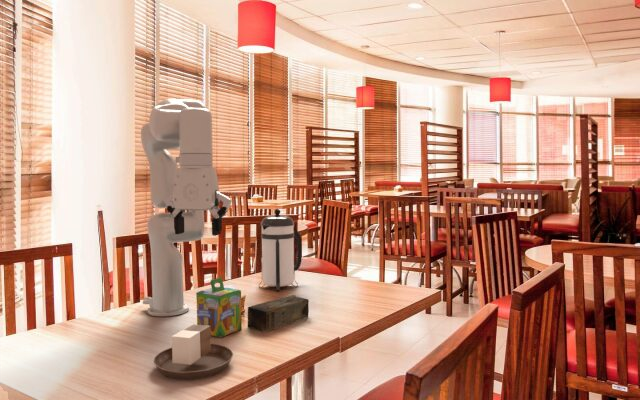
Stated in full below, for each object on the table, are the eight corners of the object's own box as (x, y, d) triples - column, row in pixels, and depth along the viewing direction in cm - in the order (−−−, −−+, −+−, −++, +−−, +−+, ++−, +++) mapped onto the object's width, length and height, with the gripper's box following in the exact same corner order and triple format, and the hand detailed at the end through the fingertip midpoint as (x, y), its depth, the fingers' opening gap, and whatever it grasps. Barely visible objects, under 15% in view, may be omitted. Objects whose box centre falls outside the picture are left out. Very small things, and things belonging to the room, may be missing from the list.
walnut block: (184, 355, 118) (183, 330, 118) (194, 349, 123) (193, 324, 122) (201, 357, 117) (201, 331, 117) (211, 350, 122) (210, 325, 121)
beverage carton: (310, 317, 157) (310, 296, 157) (265, 334, 142) (265, 310, 142) (290, 313, 162) (290, 292, 162) (245, 328, 147) (245, 305, 147)
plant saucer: (245, 372, 116) (245, 359, 116) (166, 391, 107) (166, 377, 106) (216, 349, 131) (216, 338, 131) (145, 364, 121) (145, 351, 121)
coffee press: (299, 291, 189) (298, 210, 187) (256, 292, 189) (254, 210, 187) (301, 281, 206) (301, 206, 204) (262, 281, 206) (261, 207, 205)
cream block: (172, 362, 114) (171, 336, 114) (183, 355, 119) (182, 330, 118) (190, 364, 113) (189, 338, 113) (200, 357, 117) (200, 331, 117)
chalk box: (220, 338, 138) (219, 284, 137) (195, 333, 143) (194, 280, 142) (243, 329, 146) (242, 277, 145) (219, 324, 151) (218, 274, 150)
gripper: (154, 162, 119) (156, 235, 121) (222, 161, 115) (224, 237, 116) (172, 162, 127) (174, 231, 128) (237, 161, 122) (238, 233, 123)
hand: (197, 234), depth 122 cm, fingers open, 9 cm apart
